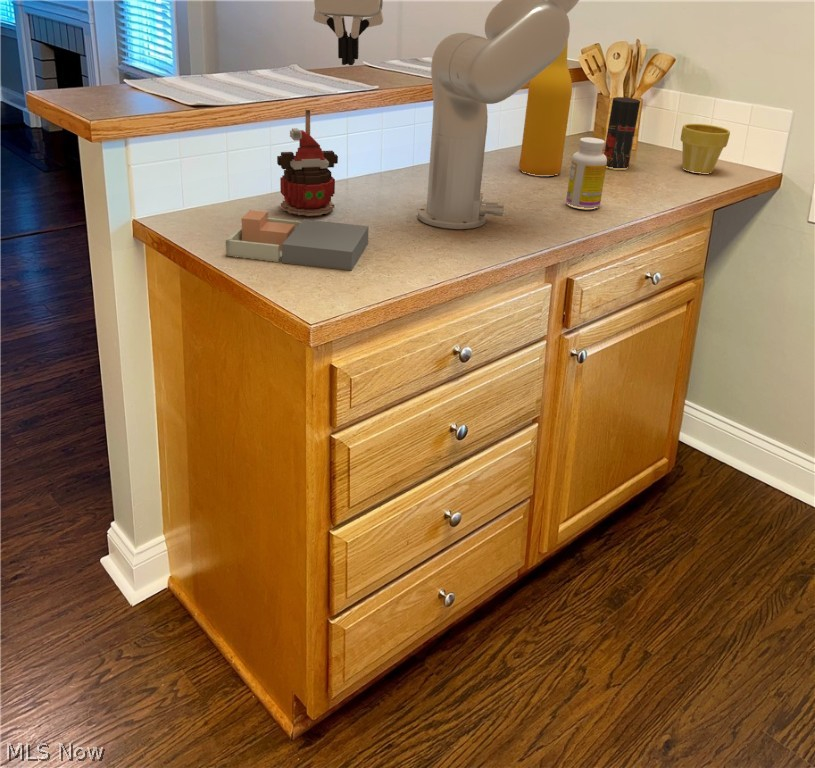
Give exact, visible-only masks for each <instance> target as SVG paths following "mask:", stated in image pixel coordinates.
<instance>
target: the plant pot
mask: <svg viewBox="0 0 815 768" xmlns="http://www.w3.org/2000/svg"><path fill="white" fill-rule="evenodd" d="M730 135H731V131H730V130H729V129H727V128H724V127H721V126H717V125H712V124H704V123H703V124H702V123H685V124H683V125H682V129H681V134H680V142H682V158H681V159H682V162H681V163H682V166H681V167H683V168H684V169H686V170H689V171H694V172H701V173H710V172H712V173H713V171H714V169H715V168H716V164H717V163H718V160H719V158H720V156H721V153H722V151H723V149H724V148H726V147H727V146H728V143H729V139H730ZM683 168H682V169H683Z"/></svg>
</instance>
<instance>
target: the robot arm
mask: <svg viewBox="0 0 815 768" xmlns="http://www.w3.org/2000/svg"><path fill="white" fill-rule="evenodd" d="M313 1H314V3H313V4H314V13H313V21H314V22H316V23H319V24H323V25H326V26H328V28H329V29H330V30H332V32H333V33H334V34H335V36H336V37H337V53H338V55H337V56H338V59H341V65H342V66H346V65H348V66H353V65H354V64H355V62H356V60H359V50H360V49H359V43H360V42H359V41H360V40H359V38H360V37H359V36H361V34H363V32H365V30H366V29H367V28H372V27H376V26H380V25H382V24H383V23H384V17H383V12H382V11H383V3H384V2H383V0H313ZM579 1H580V0H501V1H499V2H498V3H497V4H496V5H495V6H494V7H493V8H492V9H491V10H490V12H489V13H488V14H487V17H486V19H485V22H484V34H485V37H483V36H479V35H476V34H472V33H467V32H456V33H452V34H450V35H448V36H446V37H444V38H443V39H442V40H441V41H440V42H439V43H438V45H437V46H436V47H435V49H434V52H433V54H432V58H431V66H430V68H431V69H430V72H431V73H430V74H431V75H430V76H431V86H432V101H433V102H432V103H433V104H432V105H433V108H432V125H431V140H430V150H429V151H430V153H429V155H430V156H429V170H428V181H427V182H428V183H427V184H428V185H427V197H426V204H424V205H421V206H420V207H418V209H417V218H418V219H419V220H420V222H423V224H427V225H428V226H433V227H437V228H441V229H449V230H450V229H451V230H466V229H468V230H469V229H474V228H479V227H481V226H483V225H484V224H485V223H486V222H487V218H488V216H487V215H492V216H497V217H503V216H504V209H505V205H502V204H499V202H497V201H486V199H483V197H484V196H483V195H484V193H483V192H481V190H482V180H483V171H484V170H483V169H484V161H485V160H484V159H485V152H486V151H485V149H486V142H487V130H488V107H487V105H495V104H498V103H500V102H504V101H505V100H507V99H508V98H510V97H511V96H513V95H514V94H515V93H517V92H518V91H519V90H520V89H522V88H523V87H525V86H526V85H527V84H528V83H530V81H531V80H532V79H533V78H534V77H535V76H537V75H538V74H539V73H540V72H542V71H543V70H544V69H545V68H547V67H548V66H549V65H550V64H551V63H552V62H553V61H555V60H556V59H557V57H558V56H559V55H560V54H561V52H562V51H563V49H564V47H565V45H566V43H567V40H568V41H569V36H570V32H571V31H570V30H571V27H570V20H569V16H568V13H570V12H571V10H573V9H574V7H575V6H576V5H578V2H579ZM345 17H352V23H351V31H350V33H349V34H348V31H347V29H346V21H345Z"/></svg>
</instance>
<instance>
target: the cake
mask: <svg viewBox="0 0 815 768" xmlns="http://www.w3.org/2000/svg"><path fill="white" fill-rule="evenodd" d="M304 120H305V121H304V122H305V125H304V126H305V131H304V129H298V128H297V127H296V128H291V130H289V137H290V138H291V139H292V140H293V141H295V142H297V141H299V146H298V147H297V151H295V153H294V152H293V151H281V152H280V155H277V156H276V157H277V158H276V163H277V165H278V166H280V168H281V169H282V170H283V175H281V176H280V178H279V179H280V189H279V190H280V193H281V195H282V197H284V198H283V199H284V200H282V202H280V207H281V209H282V210H283V211H284V212H288V214H293V215H298V216H304V217H309V216H313V217H314V216H323V214H328V213H331V212H333V211H334V209H335V204H334V203H333V202H332V197H334V195H335V194H336V193H335V192H336V187H335V186H336V179H335V178H334V177H333V175H332V171H331V170H330V168H335V164H339V162H338V161H339V160H338V159H339V156H338V155H337V154H335V151H333V150H323V149H322V148H321V144H319V143H318V142H317V141H316V139H314V138H313V136H311V109H310V108H308V109H307V108H306V109H305V119H304Z"/></svg>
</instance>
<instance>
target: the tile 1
mask: <svg viewBox="0 0 815 768" xmlns="http://www.w3.org/2000/svg"><path fill="white" fill-rule="evenodd" d="M268 218H269V212H268V211H262V210H255V209H253V210H252V209H249V211H248V212H246V213H245V214H244V215H243V216H242V217H241V220H240V221H241V226H242V241H248V242H257V243H260V237H259V230H260V229H261V228H262V227H263V226H264V225H265V224H266V223H267V222H268Z"/></svg>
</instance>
